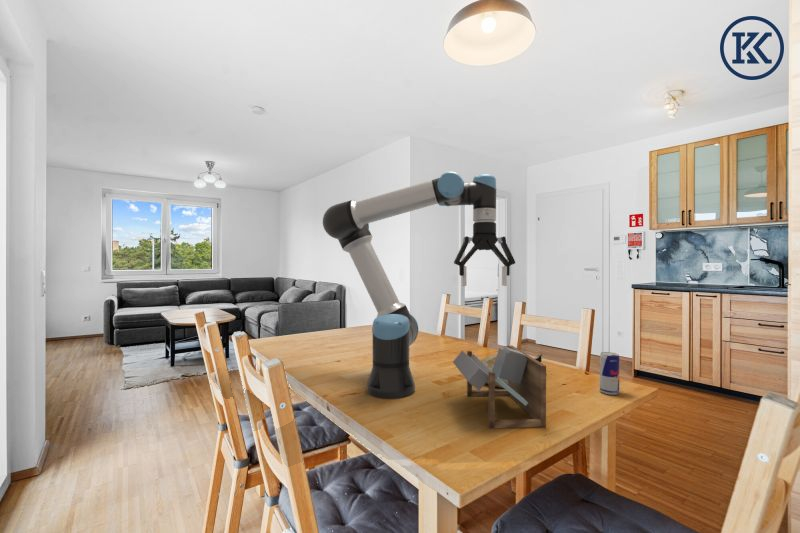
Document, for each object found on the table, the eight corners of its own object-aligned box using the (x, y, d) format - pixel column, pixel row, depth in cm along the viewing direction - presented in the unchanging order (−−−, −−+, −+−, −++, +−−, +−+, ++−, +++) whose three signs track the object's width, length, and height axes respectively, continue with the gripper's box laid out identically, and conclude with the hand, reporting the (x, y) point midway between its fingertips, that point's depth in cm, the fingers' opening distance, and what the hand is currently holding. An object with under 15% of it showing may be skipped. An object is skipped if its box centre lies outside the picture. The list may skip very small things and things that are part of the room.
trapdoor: (468, 382, 92) (483, 364, 93) (452, 361, 112) (464, 346, 113) (514, 420, 93) (529, 402, 93) (490, 392, 113) (502, 378, 113)
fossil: (466, 366, 128) (466, 378, 129) (505, 381, 117) (505, 394, 118) (493, 347, 139) (494, 358, 140) (531, 359, 128) (531, 371, 129)
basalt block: (498, 377, 100) (507, 349, 100) (492, 371, 106) (500, 345, 106) (519, 383, 100) (528, 356, 100) (511, 377, 106) (519, 351, 106)
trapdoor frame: (489, 428, 91) (490, 366, 91) (467, 395, 114) (467, 346, 114) (545, 426, 92) (546, 365, 92) (512, 394, 115) (512, 345, 115)
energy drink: (616, 396, 113) (617, 356, 113) (597, 392, 117) (597, 354, 117) (621, 392, 117) (621, 353, 117) (602, 388, 121) (602, 351, 121)
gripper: (449, 220, 121) (449, 286, 121) (525, 221, 122) (525, 286, 123) (445, 223, 128) (445, 285, 128) (516, 223, 130) (516, 284, 130)
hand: (484, 285), depth 125 cm, fingers open, 13 cm apart
